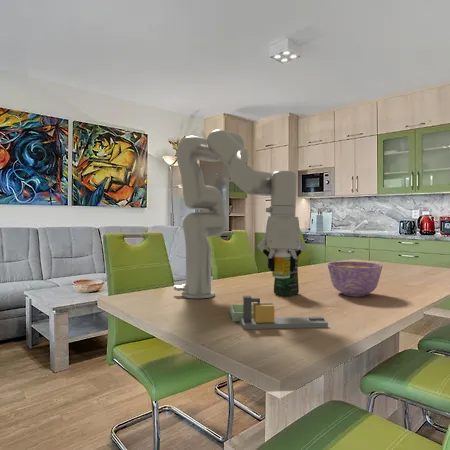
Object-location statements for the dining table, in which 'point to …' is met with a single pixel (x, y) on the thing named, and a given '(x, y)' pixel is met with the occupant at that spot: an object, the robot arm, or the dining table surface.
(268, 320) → the strap block
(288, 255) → the supplement bottle
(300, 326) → the base plate
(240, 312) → the green square tray
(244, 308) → the post
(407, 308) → the dining table surface
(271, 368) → the dining table surface
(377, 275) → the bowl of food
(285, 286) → the coffee jar
